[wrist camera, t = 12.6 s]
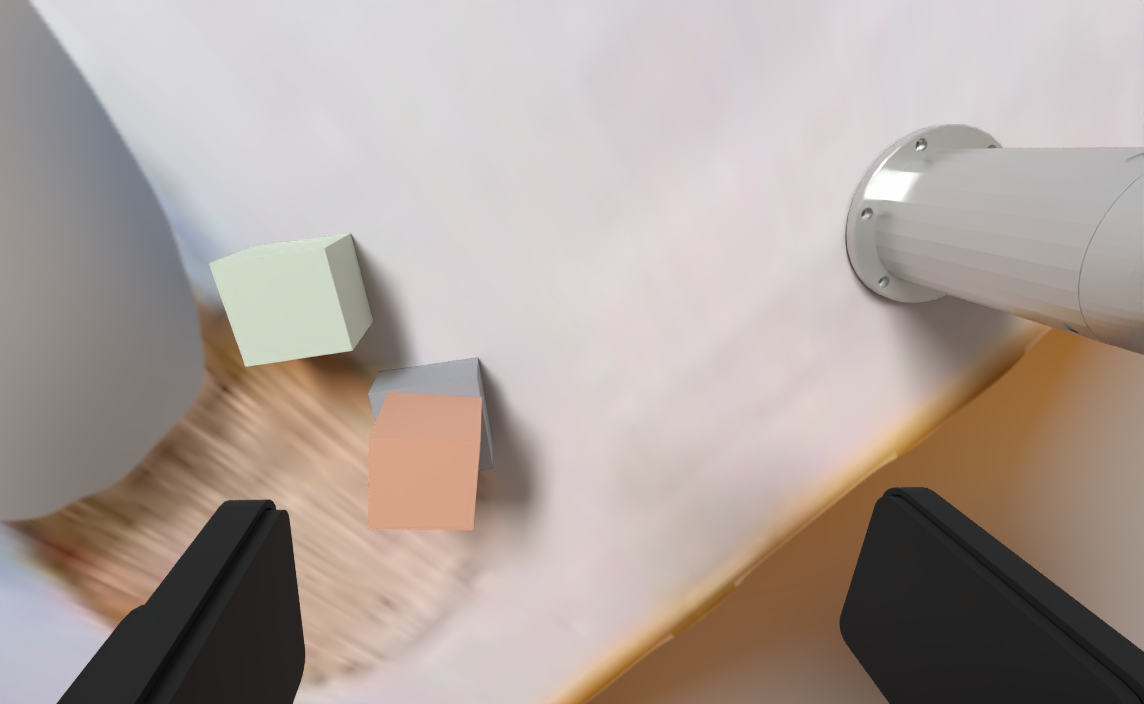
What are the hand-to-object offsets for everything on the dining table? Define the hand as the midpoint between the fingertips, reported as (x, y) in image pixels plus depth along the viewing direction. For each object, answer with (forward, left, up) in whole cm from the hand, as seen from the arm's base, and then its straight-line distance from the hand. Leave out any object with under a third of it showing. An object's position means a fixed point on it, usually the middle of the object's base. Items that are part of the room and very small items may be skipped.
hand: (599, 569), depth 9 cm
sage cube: (+13, +3, -30) cm, 33 cm away
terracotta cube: (+5, +12, -27) cm, 30 cm away
